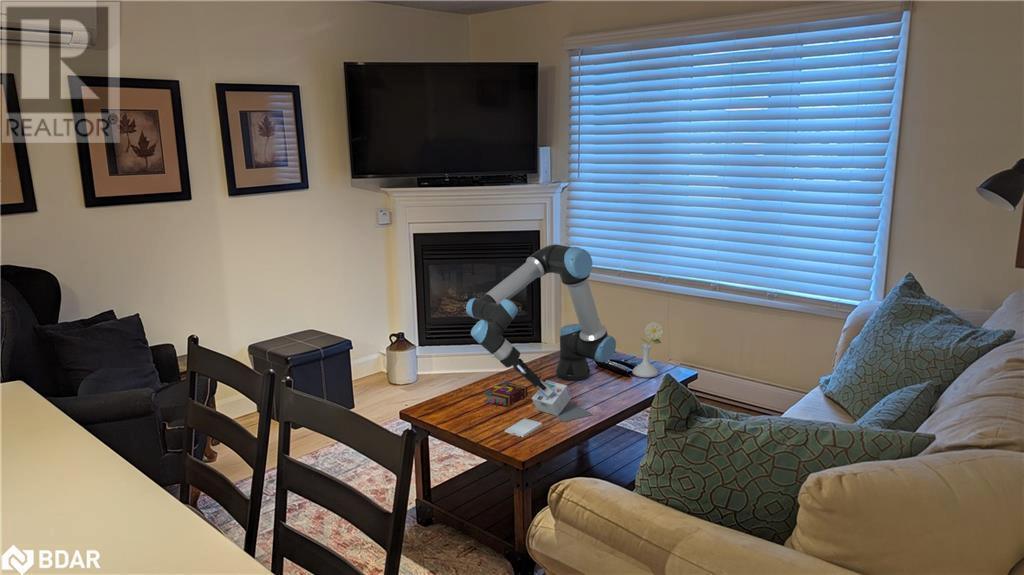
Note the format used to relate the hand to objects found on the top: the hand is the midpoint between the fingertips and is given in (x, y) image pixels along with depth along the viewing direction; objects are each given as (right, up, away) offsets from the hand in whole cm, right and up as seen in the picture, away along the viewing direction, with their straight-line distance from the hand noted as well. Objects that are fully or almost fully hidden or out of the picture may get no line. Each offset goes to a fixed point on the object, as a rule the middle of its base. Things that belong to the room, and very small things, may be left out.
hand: (550, 393), depth 260 cm
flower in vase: (+45, 0, +46) cm, 65 cm away
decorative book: (-17, -6, +20) cm, 27 cm away
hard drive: (-10, -13, -8) cm, 18 cm away
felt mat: (+7, -8, +7) cm, 13 cm away
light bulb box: (-2, -6, +4) cm, 8 cm away
